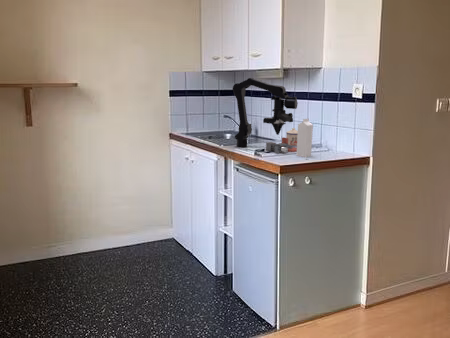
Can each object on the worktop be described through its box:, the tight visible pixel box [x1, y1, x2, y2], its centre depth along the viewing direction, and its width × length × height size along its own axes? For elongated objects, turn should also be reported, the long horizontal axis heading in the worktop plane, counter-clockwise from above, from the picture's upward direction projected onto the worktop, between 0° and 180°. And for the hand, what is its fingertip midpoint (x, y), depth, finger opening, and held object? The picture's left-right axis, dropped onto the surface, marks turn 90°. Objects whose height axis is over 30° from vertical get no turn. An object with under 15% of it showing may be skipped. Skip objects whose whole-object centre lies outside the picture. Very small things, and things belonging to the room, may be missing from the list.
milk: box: [296, 118, 314, 160], centre depth 256 cm, size 6×6×22 cm
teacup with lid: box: [285, 127, 298, 147], centre depth 296 cm, size 12×9×12 cm
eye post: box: [274, 142, 289, 155], centre depth 265 cm, size 2×8×5 cm, turn 126°
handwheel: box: [281, 137, 297, 153], centre depth 274 cm, size 12×9×7 cm
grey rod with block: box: [265, 141, 288, 152], centre depth 268 cm, size 15×4×4 cm, turn 36°
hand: (277, 134), depth 273 cm, fingers closed
